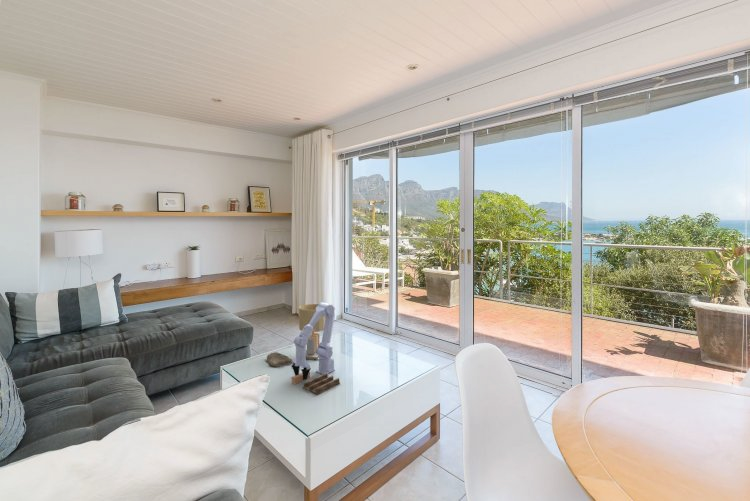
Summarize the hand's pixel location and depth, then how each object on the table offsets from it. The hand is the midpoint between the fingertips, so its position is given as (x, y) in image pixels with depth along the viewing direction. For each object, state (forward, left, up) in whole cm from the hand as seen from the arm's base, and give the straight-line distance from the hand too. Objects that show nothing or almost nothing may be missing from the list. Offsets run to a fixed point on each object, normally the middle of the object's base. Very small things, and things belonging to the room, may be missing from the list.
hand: (300, 377), depth 211 cm
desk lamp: (-31, -25, -2) cm, 40 cm away
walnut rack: (-3, +15, -2) cm, 15 cm away
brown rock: (-8, -35, -2) cm, 36 cm away
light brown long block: (0, 0, -2) cm, 2 cm away
